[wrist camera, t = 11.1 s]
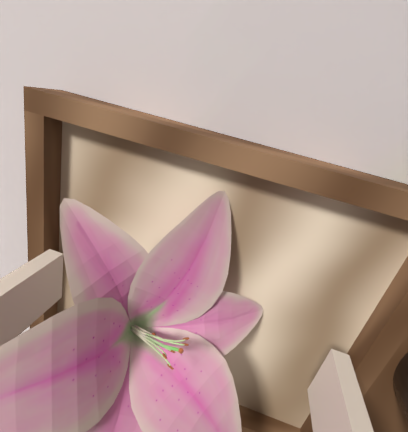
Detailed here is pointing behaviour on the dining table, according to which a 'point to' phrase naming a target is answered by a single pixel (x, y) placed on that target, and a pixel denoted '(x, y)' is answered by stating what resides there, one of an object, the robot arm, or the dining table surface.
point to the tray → (242, 242)
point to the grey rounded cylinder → (402, 384)
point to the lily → (133, 333)
